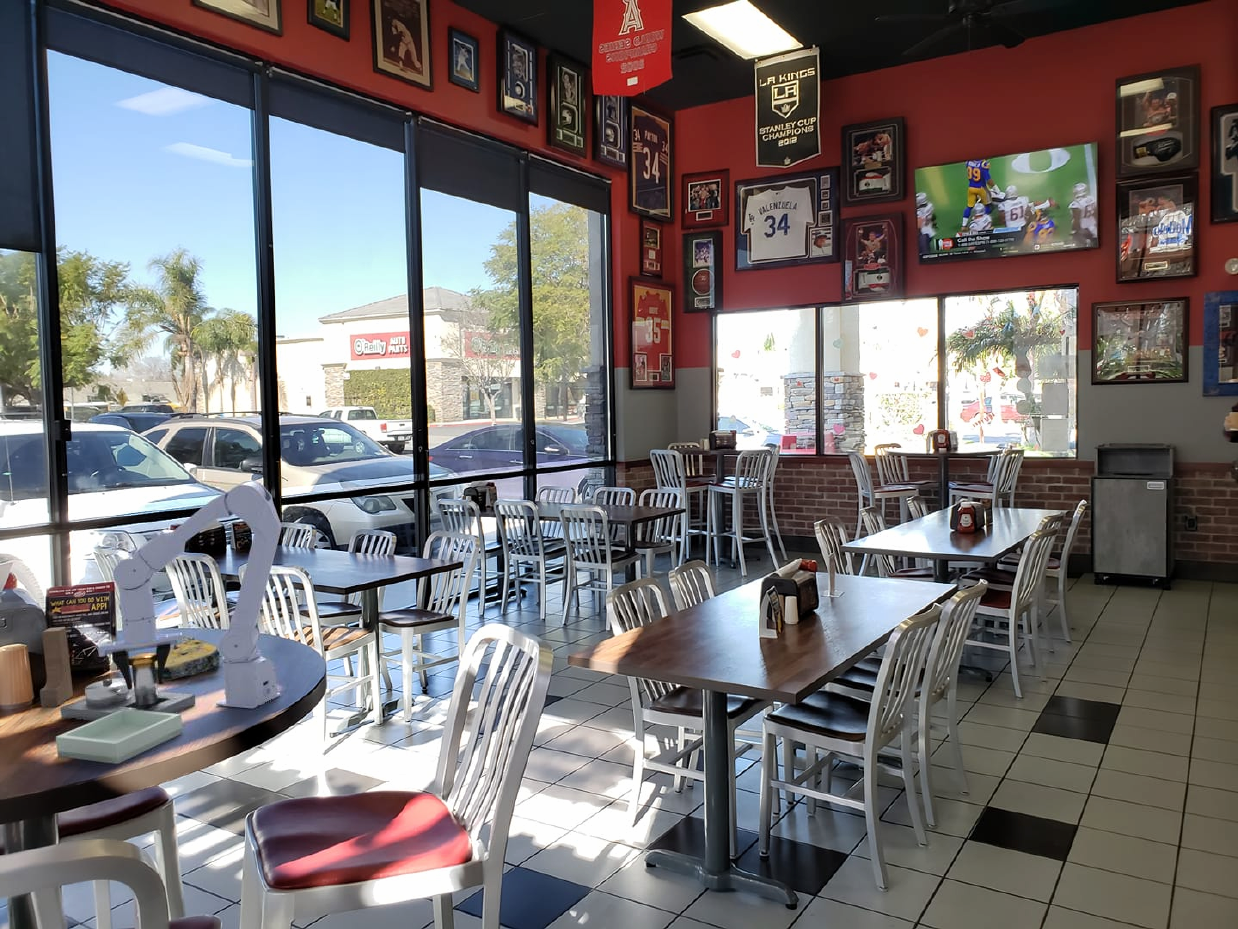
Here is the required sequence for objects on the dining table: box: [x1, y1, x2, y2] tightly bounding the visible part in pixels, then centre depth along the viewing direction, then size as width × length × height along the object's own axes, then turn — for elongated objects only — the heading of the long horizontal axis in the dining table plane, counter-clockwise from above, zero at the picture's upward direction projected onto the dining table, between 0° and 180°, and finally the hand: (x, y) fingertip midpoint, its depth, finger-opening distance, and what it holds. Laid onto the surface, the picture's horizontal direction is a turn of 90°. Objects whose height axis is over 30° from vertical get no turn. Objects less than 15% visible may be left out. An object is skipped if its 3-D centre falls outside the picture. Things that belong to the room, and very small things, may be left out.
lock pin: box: [128, 652, 158, 705], centre depth 180 cm, size 5×5×9 cm
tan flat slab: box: [155, 635, 222, 681], centre depth 212 cm, size 14×6×30 cm
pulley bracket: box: [59, 677, 196, 722], centre depth 182 cm, size 22×12×6 cm, turn 70°
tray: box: [55, 709, 184, 765], centre depth 164 cm, size 14×14×4 cm
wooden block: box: [39, 626, 74, 708], centre depth 189 cm, size 7×3×15 cm, turn 6°
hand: (145, 685), depth 180 cm, fingers closed on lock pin, 5 cm apart
